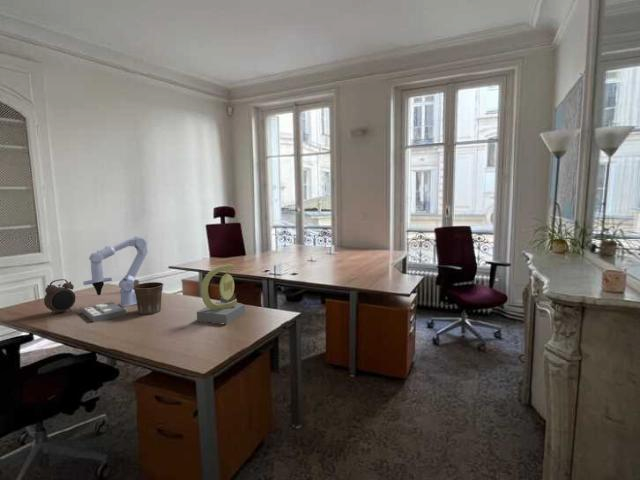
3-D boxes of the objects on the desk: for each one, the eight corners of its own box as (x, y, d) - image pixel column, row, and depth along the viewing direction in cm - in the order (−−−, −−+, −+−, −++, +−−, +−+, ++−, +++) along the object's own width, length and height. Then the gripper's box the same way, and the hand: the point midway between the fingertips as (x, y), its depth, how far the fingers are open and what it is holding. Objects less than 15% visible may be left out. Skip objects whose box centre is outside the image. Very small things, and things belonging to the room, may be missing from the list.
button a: (102, 308, 209) (102, 303, 209) (104, 310, 206) (104, 304, 206) (95, 310, 206) (95, 305, 206) (97, 311, 204) (97, 306, 203)
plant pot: (170, 307, 213) (168, 282, 211) (155, 316, 197) (153, 288, 195) (145, 307, 214) (143, 281, 212) (128, 315, 198) (126, 288, 196)
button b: (106, 309, 204) (105, 304, 204) (108, 310, 202) (107, 305, 201) (99, 311, 201) (98, 305, 201) (100, 312, 199) (100, 307, 198)
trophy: (226, 325, 182) (224, 269, 179) (197, 321, 188) (194, 267, 184) (244, 314, 200) (243, 263, 196) (217, 311, 205) (215, 261, 202)
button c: (110, 313, 200) (109, 308, 199) (112, 315, 197) (112, 309, 197) (102, 315, 197) (102, 309, 196) (104, 316, 194) (104, 311, 194)
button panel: (112, 306, 216) (112, 301, 215) (126, 314, 199) (125, 309, 199) (82, 312, 204) (81, 307, 204) (94, 322, 188) (93, 316, 187)
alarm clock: (50, 317, 197) (47, 283, 195) (44, 315, 200) (41, 281, 198) (78, 310, 209) (75, 277, 207) (72, 308, 213) (69, 276, 211)
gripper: (84, 275, 199) (86, 298, 201) (112, 271, 210) (114, 293, 211) (81, 273, 204) (83, 296, 206) (109, 270, 215) (110, 291, 216)
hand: (98, 294), depth 209 cm, fingers closed
